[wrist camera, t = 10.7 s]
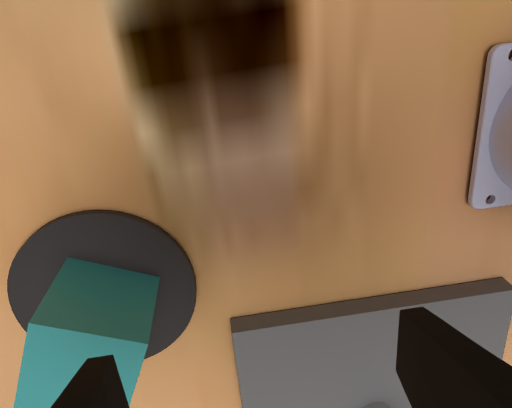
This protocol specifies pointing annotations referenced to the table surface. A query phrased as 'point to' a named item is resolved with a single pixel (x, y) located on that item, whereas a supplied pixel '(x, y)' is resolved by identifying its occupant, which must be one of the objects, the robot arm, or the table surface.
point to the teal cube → (86, 329)
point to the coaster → (110, 254)
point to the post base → (354, 345)
